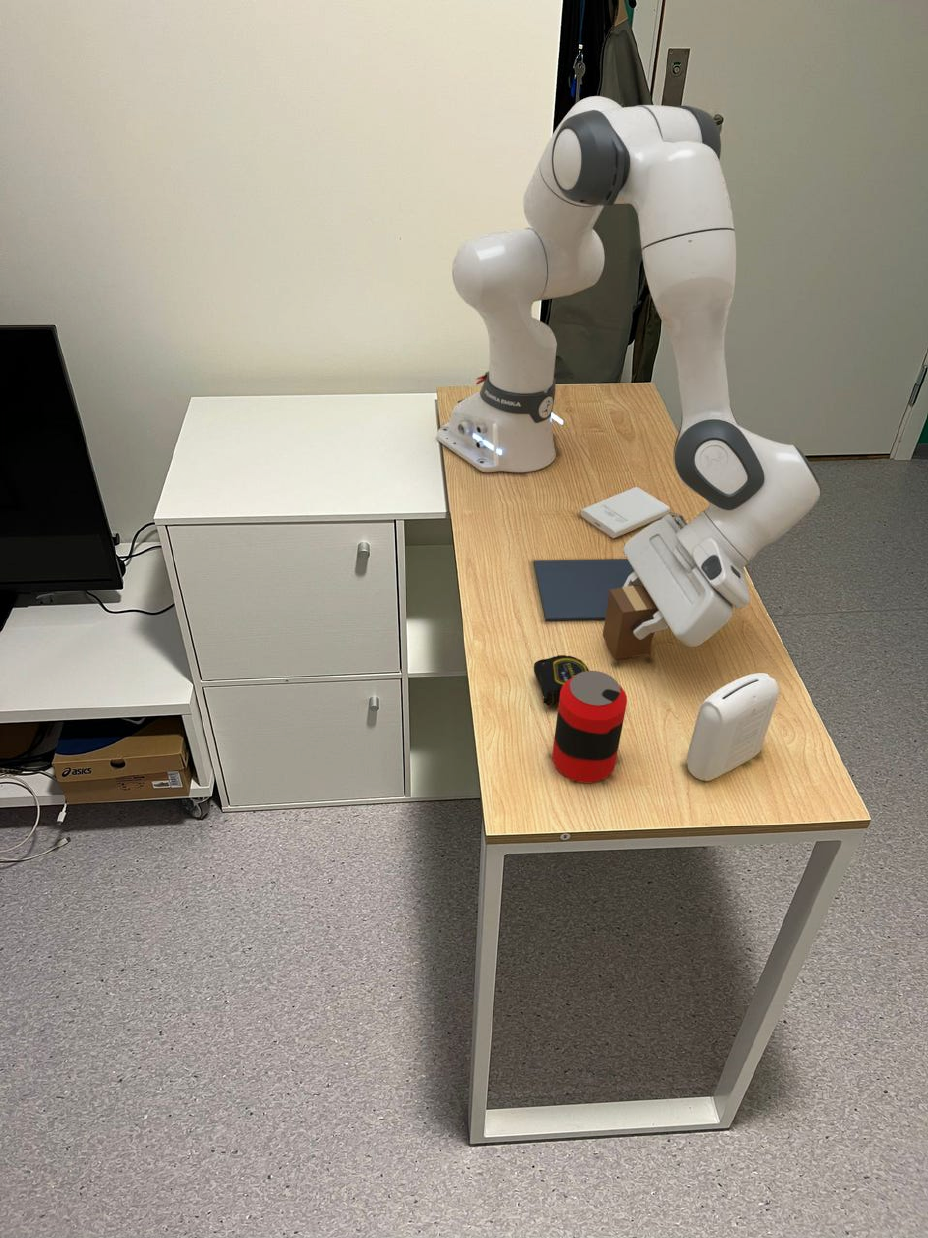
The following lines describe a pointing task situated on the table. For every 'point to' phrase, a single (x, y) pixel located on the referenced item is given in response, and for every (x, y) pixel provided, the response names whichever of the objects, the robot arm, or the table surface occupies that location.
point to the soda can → (588, 726)
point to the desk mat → (579, 586)
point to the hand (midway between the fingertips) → (626, 619)
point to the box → (628, 621)
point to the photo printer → (732, 726)
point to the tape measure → (556, 675)
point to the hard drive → (625, 512)
